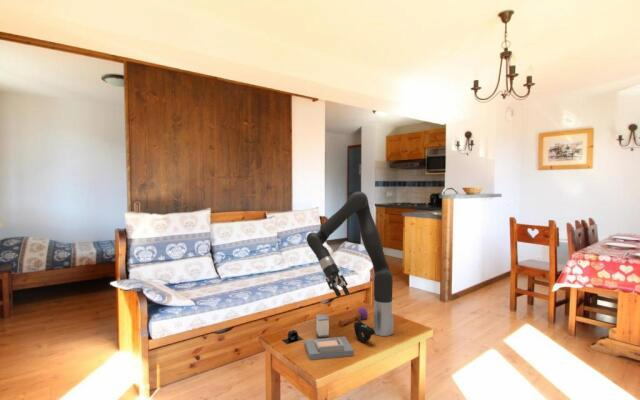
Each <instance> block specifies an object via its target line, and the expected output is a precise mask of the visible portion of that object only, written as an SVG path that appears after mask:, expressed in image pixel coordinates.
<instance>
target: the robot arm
mask: <svg viewBox="0 0 640 400" xmlns="http://www.w3.org/2000/svg"><path fill="white" fill-rule="evenodd" d="M354 214H356V216H357V220H358V224H359V227H358V228H359V233H360V237H361V240H362V241H361V242H362V243H363V246H364V249H365V251H366V253H367V255H368V257H369V259H370V261H371V264H372V268H373V271H374V272H373V273H374V277H373V329H374V331H375V333H374V334H375V335H377V336H380V337H388V336H391V335H393V334H394V315H393V283H394V282H393V273H392V271H391V269H390V267H389V264H388V262H387V259H386V257H385V252H384V247H383V243H382V239H381V236H380V233H379V231H378V228H377V226H376V223H375V221H374V219H373V218H374V217H373V216H372V211H371V208H370V204H369V198H368V196H367V194H366V193H364V192H363V191H355V192H353V193H352V194H351V195H350V197H348V199H347V200H346V201H345V203H344V205H342V206H341V208H339V209H338V210H337V211H336V212H335V213H334V214H332V215H331V216H330V217H329V218H328V219H326V221H324V222H323V223H322V224H321V225H320V227H319V230H318V231H317V232H310V233H308V235H307V236H306V243H307V245H308V246H309V248H310V249H311V251H312V252H313V253H314V255H315V256H316V259H317V261H318V262H319V265H320V268H321V269H322V271H323V273H324V276H325V277H326V278H325V282H326V283H327V285H328V287H329V290H332V291H334V293H335V296H336V297H337V298H339V297H341V296H342V293H341V292H340V290H339V288H338V287H340V288H341V289H342V291H343V293H344V294H345V296H348V295H349V294H350V291H349V289H348V287H347V286H348V281H347V280H346V278H345V277H344V275H343V274H341V275H340V274H339V272H340V269H339V268H338V265H337V263H336V262H335V259H334V258H333V257H332V255H331V253H330V252H329V249H328V248H327V247H326V246H325V245H324V243H326V241H327V240H328V239H329V237H330V236H331V235H332V234H333V233H334V232H336V230H338V229H339V228H340V227H341V226H342V225H343V224H344V223H345V221H346V220H347V219H349V218H350V217H351V216H352V215H354Z"/></svg>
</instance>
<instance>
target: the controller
mask: <svg viewBox="0 0 640 400" xmlns="http://www.w3.org/2000/svg"><path fill="white" fill-rule="evenodd" d="M353 328H354V333H355V337H356V338H357V340H358V341H360V342H361V343H366V342H368V341H370V340H371V338H372V336H373V335H374V334H375V331H374V328H373V327H370V326H369V325H367V324H365V323H364V322H362V319H357V321H355V322H353Z"/></svg>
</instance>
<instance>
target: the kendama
mask: <svg viewBox="0 0 640 400" xmlns="http://www.w3.org/2000/svg"><path fill="white" fill-rule="evenodd" d="M368 314H369V313H368V311H367V309H366V308H364V307H362V308H359V309H357V311H356V312H355V313H354V315H353V316H351V317H346V318H344V319H340V320H338V326H340V327H343V326H345V325H346V324H348V323H349V322H352V320H356V319H361V320H365V319H367V317H368Z"/></svg>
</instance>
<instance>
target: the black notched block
mask: <svg viewBox="0 0 640 400" xmlns="http://www.w3.org/2000/svg"><path fill="white" fill-rule="evenodd" d="M303 340H304V339H303V337H301V336H300V335H299V334H298V331H297V330H295V329H293V330H289V331H288V332H287V338H284V339H281V341H282V342H283V343H285V345H289V344H293V343H297V342H300V341H303Z"/></svg>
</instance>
